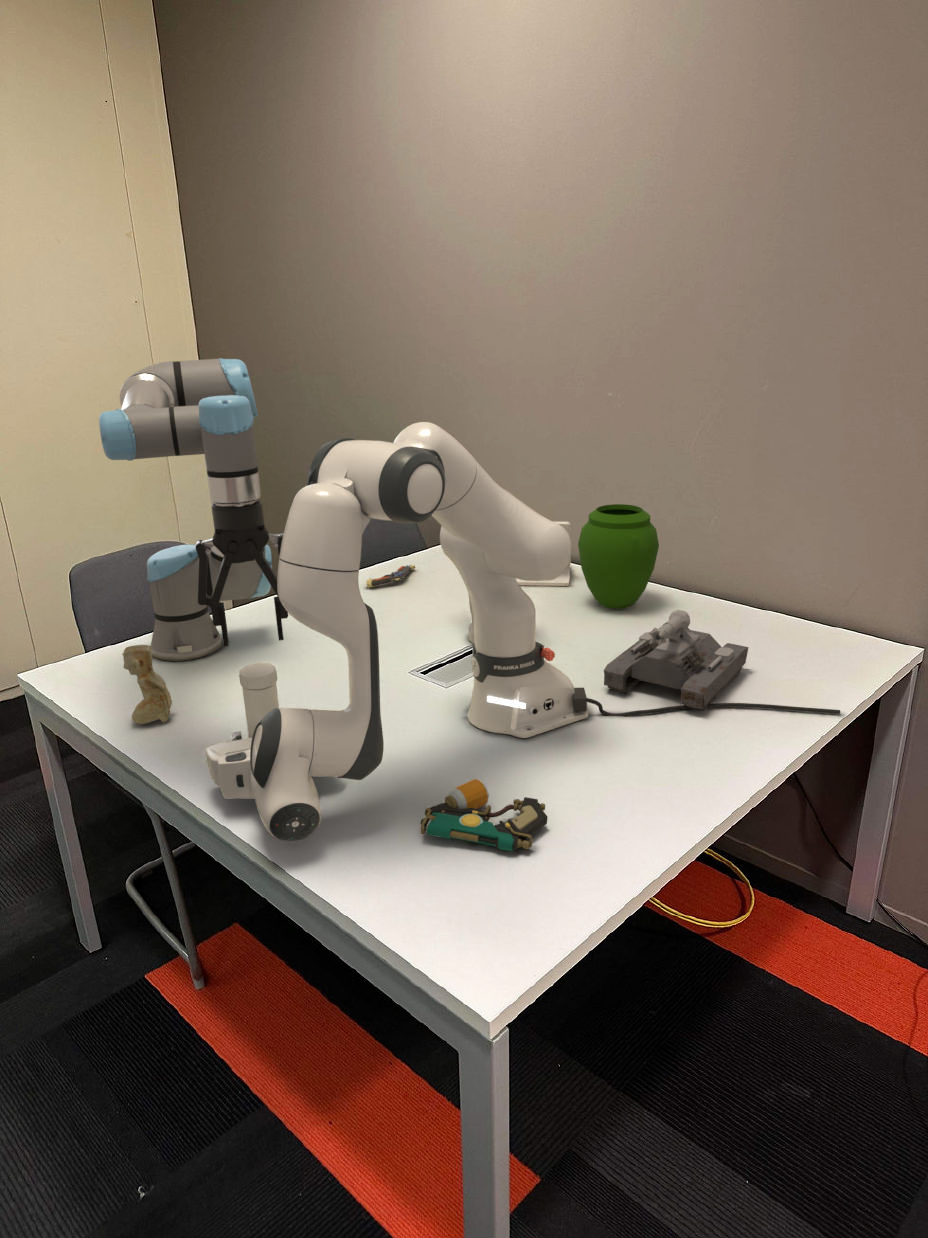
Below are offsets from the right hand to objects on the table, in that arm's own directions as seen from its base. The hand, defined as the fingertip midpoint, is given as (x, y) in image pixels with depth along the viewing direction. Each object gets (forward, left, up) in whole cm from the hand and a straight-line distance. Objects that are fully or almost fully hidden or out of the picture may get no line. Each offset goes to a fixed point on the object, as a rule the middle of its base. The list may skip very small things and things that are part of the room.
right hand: (264, 730), depth 144 cm
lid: (0, +1, +11) cm, 11 cm away
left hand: (0, +1, +17) cm, 17 cm away
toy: (-81, 0, -6) cm, 81 cm away
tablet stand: (-82, -76, -6) cm, 112 cm away
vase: (-93, -44, -6) cm, 103 cm away
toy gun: (-47, -89, -6) cm, 101 cm away
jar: (0, +1, -6) cm, 6 cm away
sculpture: (+18, -24, -6) cm, 31 cm away
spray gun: (-27, +33, -6) cm, 43 cm away
